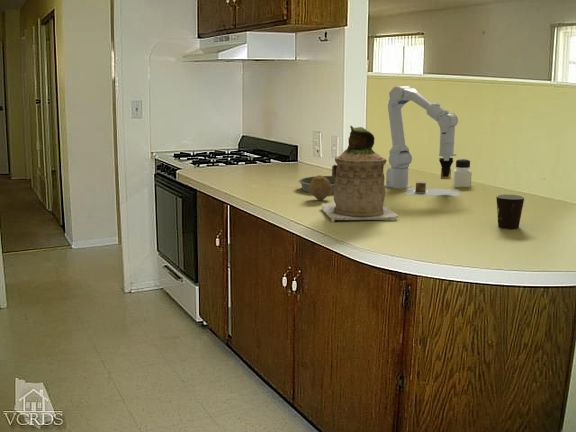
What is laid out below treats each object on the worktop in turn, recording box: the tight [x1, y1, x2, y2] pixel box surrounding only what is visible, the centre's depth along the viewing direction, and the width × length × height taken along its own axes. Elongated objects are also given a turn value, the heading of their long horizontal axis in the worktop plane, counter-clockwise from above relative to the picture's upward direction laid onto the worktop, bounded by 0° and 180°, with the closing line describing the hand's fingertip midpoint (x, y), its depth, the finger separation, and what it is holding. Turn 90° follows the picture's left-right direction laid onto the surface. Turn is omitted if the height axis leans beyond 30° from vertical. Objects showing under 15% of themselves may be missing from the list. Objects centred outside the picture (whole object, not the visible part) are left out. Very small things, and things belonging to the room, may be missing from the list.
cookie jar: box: [321, 125, 399, 223], centre depth 229 cm, size 25×25×32 cm
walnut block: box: [415, 181, 427, 193], centre depth 272 cm, size 4×4×4 cm
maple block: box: [440, 167, 452, 180], centre depth 269 cm, size 4×4×4 cm
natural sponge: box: [309, 174, 332, 201], centre depth 258 cm, size 9×9×10 cm
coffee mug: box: [495, 193, 525, 230], centre depth 208 cm, size 12×9×10 cm
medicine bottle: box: [453, 158, 472, 188], centre depth 286 cm, size 7×7×12 cm
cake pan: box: [298, 175, 335, 195], centre depth 283 cm, size 25×25×4 cm
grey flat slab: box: [405, 187, 461, 197], centre depth 272 cm, size 22×16×1 cm
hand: (445, 175), depth 269 cm, fingers closed on maple block, 4 cm apart
